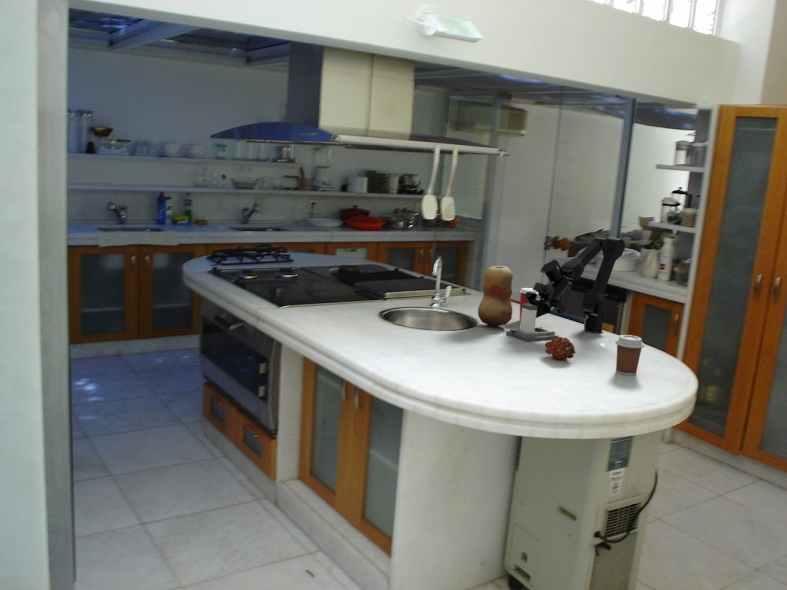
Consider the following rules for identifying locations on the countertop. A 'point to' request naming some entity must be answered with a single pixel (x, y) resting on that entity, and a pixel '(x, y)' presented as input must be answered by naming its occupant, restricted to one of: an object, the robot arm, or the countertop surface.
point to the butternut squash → (496, 296)
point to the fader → (528, 318)
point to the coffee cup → (628, 354)
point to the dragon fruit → (560, 348)
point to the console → (533, 334)
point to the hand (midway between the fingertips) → (531, 318)
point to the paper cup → (523, 298)
